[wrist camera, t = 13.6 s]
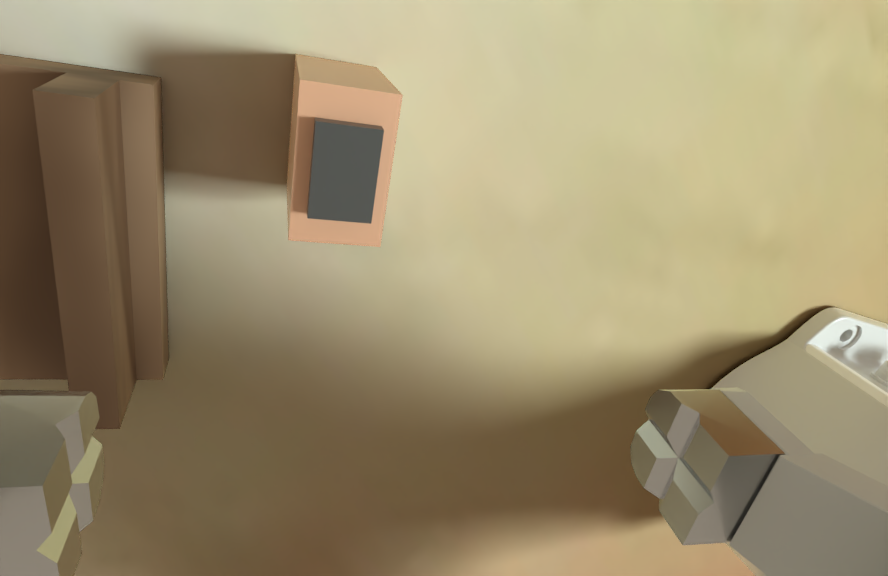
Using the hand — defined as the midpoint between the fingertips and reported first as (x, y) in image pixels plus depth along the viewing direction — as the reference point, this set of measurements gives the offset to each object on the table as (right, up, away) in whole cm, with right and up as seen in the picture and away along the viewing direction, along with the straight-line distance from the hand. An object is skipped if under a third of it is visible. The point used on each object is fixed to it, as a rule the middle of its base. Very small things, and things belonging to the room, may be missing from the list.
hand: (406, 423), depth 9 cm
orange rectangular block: (-4, +8, +14) cm, 17 cm away
